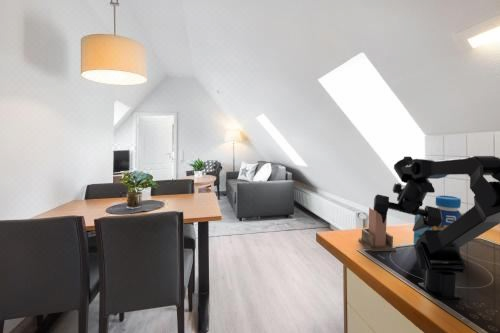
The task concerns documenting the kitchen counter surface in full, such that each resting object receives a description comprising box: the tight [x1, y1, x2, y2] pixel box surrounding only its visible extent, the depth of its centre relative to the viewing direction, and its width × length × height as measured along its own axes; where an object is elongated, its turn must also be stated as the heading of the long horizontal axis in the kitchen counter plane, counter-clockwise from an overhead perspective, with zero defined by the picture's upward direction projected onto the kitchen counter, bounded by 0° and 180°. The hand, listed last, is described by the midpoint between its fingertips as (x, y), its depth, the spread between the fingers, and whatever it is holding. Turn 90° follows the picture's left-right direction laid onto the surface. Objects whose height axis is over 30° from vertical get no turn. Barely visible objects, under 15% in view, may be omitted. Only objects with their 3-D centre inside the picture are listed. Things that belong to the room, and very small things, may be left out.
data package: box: [413, 215, 432, 245], centre depth 95 cm, size 12×4×12 cm, turn 127°
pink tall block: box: [368, 207, 388, 246], centre depth 94 cm, size 5×4×13 cm
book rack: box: [358, 227, 397, 252], centre depth 94 cm, size 10×9×5 cm
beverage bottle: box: [432, 195, 463, 230], centre depth 86 cm, size 8×8×20 cm
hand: (397, 226), depth 85 cm, fingers open, 9 cm apart
